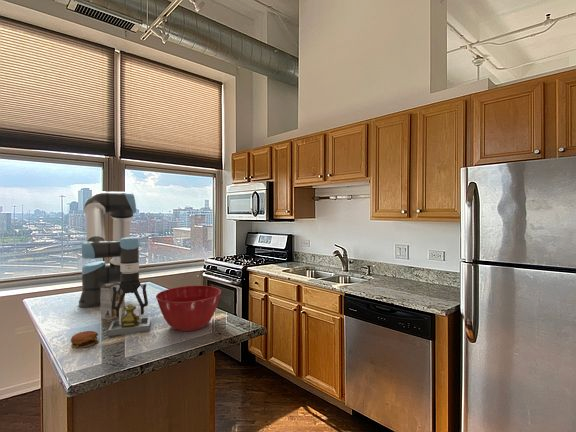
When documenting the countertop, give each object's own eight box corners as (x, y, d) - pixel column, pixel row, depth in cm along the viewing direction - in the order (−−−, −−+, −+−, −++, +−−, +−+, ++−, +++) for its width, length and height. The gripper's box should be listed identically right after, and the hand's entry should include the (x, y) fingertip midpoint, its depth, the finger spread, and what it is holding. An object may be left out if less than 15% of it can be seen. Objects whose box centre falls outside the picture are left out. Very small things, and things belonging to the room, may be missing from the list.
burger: (70, 343, 135) (70, 331, 134) (97, 338, 140) (97, 326, 140) (71, 351, 126) (71, 339, 126) (99, 346, 132) (99, 334, 132)
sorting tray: (112, 326, 154) (112, 320, 154) (150, 321, 159) (150, 316, 159) (108, 336, 142) (108, 330, 141) (149, 331, 147) (149, 325, 147)
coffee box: (113, 313, 173) (113, 282, 172) (124, 314, 171) (124, 282, 171) (100, 319, 164) (99, 286, 163) (111, 319, 162) (111, 286, 162)
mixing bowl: (203, 340, 136) (202, 302, 136) (142, 334, 143) (141, 298, 143) (230, 318, 164) (230, 287, 163) (178, 314, 170) (178, 284, 170)
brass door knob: (136, 329, 147) (135, 307, 147) (118, 330, 146) (118, 307, 146) (142, 324, 154) (141, 302, 154) (125, 324, 154) (124, 303, 154)
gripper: (102, 275, 143) (103, 328, 143) (153, 272, 150) (154, 322, 150) (105, 272, 150) (106, 322, 150) (154, 269, 157) (154, 317, 157)
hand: (130, 322), depth 150 cm, fingers closed on brass door knob, 7 cm apart
